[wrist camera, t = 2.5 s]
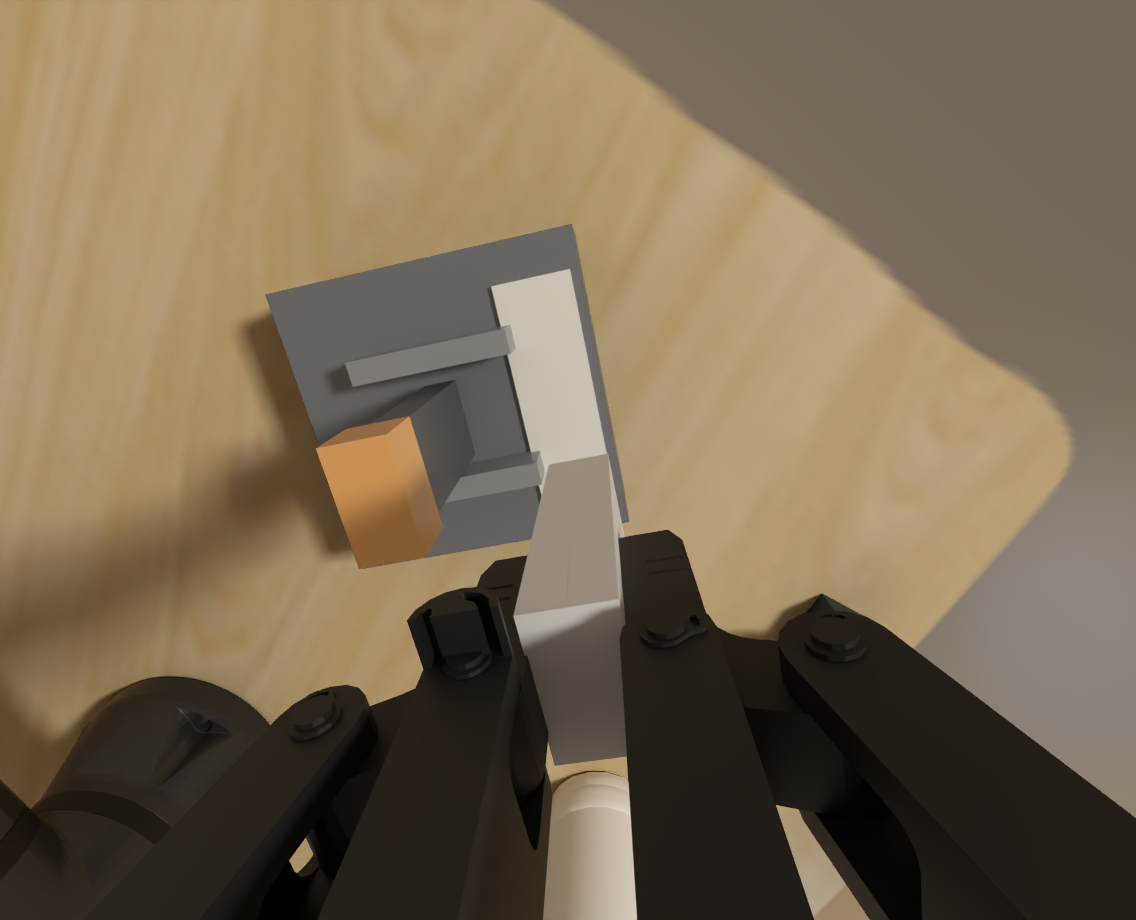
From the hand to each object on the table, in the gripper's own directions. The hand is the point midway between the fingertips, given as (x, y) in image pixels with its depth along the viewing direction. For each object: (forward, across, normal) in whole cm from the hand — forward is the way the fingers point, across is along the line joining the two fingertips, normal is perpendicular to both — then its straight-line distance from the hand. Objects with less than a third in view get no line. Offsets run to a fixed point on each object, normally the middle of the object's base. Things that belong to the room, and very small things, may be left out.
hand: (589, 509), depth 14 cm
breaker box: (+22, +8, 0) cm, 23 cm away
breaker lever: (+16, +7, 0) cm, 18 cm away
